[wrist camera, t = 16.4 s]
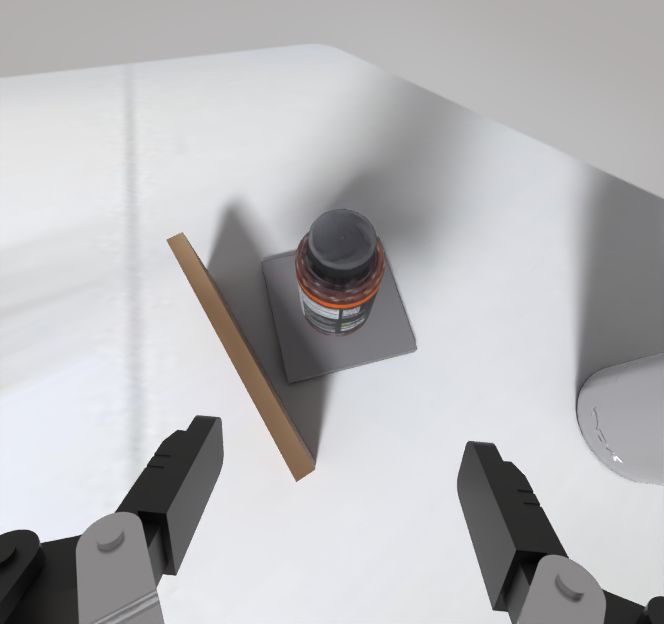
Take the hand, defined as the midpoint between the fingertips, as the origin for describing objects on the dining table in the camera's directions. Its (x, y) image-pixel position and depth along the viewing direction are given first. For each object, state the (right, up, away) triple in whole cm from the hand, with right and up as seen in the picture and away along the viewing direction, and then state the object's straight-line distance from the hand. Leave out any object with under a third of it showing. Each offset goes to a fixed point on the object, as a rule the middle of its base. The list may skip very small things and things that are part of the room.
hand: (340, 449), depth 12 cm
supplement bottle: (0, +5, +20) cm, 21 cm away
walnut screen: (-7, 0, +19) cm, 20 cm away
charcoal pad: (0, +5, +21) cm, 21 cm away
